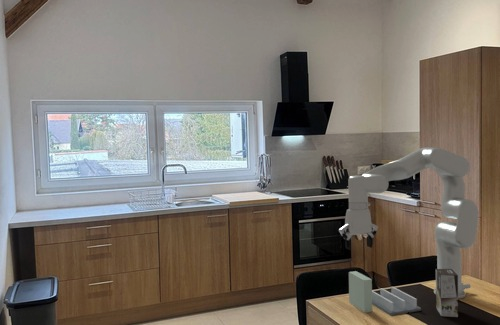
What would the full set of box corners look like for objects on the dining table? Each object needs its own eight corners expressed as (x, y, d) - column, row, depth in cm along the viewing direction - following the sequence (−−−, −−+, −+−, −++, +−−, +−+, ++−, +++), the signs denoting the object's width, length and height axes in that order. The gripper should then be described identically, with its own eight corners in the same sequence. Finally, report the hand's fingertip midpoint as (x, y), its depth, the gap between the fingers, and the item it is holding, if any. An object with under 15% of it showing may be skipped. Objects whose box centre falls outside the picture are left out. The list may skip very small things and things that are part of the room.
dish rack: (394, 295, 193) (393, 285, 192) (421, 310, 175) (420, 299, 175) (365, 299, 189) (365, 289, 188) (390, 315, 171) (390, 304, 171)
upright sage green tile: (356, 301, 187) (356, 271, 187) (372, 311, 176) (371, 279, 175) (349, 302, 186) (348, 272, 186) (364, 312, 175) (363, 280, 174)
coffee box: (458, 317, 168) (458, 275, 167) (440, 316, 169) (440, 274, 168) (452, 308, 177) (452, 268, 176) (435, 307, 178) (435, 268, 177)
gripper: (371, 203, 185) (372, 244, 186) (334, 206, 180) (335, 248, 181) (382, 205, 178) (382, 248, 179) (343, 208, 173) (344, 252, 174)
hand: (359, 248), depth 180 cm, fingers open, 9 cm apart
